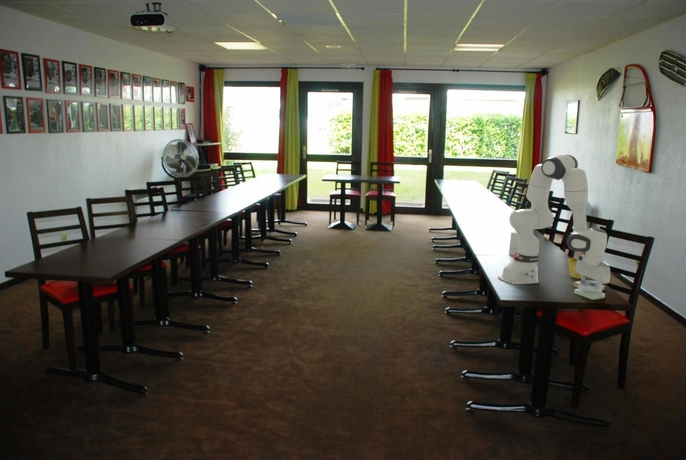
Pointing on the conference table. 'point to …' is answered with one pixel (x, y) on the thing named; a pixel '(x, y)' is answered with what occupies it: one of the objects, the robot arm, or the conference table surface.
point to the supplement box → (513, 243)
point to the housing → (589, 286)
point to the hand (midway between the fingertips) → (590, 286)
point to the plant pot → (573, 268)
